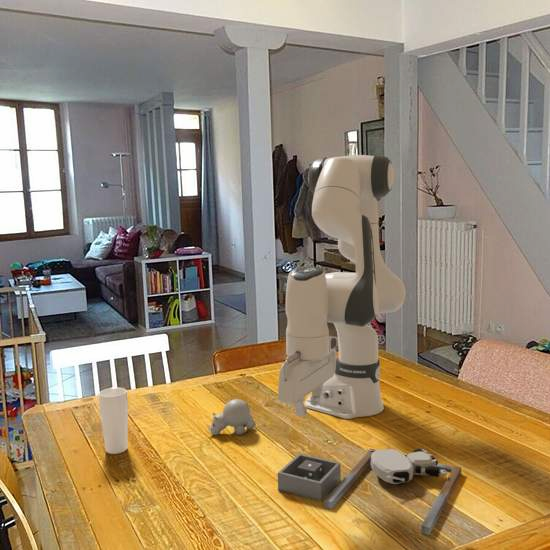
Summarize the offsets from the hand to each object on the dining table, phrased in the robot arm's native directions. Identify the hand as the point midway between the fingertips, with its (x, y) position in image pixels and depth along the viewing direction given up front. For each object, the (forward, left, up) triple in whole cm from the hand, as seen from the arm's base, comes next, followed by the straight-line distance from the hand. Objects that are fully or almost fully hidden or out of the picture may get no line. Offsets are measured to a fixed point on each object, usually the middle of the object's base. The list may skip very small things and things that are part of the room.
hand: (308, 409), depth 126 cm
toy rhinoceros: (-30, +16, -17) cm, 38 cm away
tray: (0, 0, -17) cm, 17 cm away
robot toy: (+17, +13, -17) cm, 27 cm away
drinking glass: (-50, -6, -17) cm, 53 cm away
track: (+17, +6, -17) cm, 25 cm away
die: (0, 0, -16) cm, 17 cm away
